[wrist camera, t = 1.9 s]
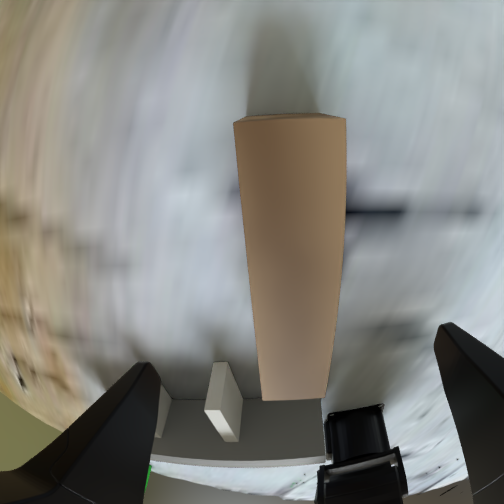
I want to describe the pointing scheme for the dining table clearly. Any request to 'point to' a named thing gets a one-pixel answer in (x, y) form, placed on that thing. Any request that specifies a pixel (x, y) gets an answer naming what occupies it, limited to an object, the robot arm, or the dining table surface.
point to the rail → (293, 244)
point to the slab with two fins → (237, 428)
